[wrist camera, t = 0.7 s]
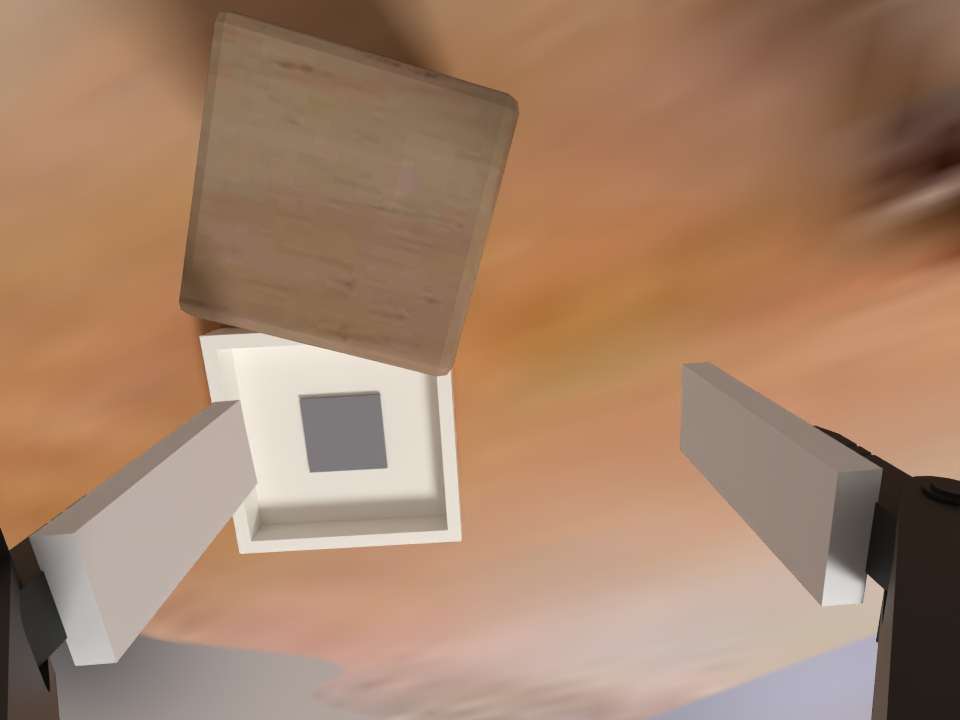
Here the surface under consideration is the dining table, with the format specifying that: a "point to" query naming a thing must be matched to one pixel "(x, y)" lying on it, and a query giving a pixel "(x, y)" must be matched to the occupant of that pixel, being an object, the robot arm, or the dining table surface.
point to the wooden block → (341, 195)
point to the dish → (337, 445)
